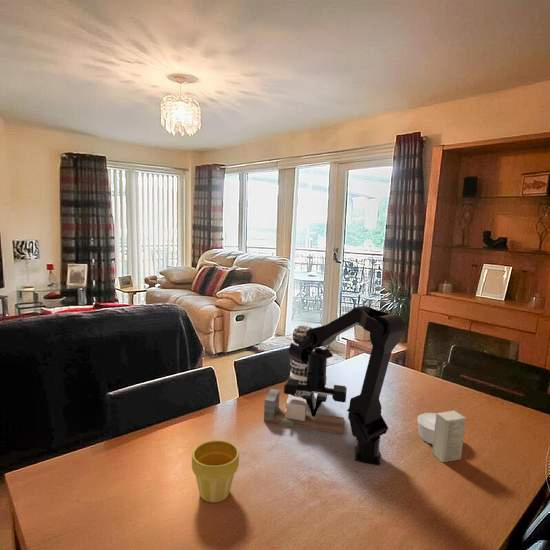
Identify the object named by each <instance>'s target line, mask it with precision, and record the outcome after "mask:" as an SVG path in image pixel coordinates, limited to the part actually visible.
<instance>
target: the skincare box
mask: <svg viewBox="0 0 550 550" xmlns="http://www.w3.org/2000/svg"><path fill="white" fill-rule="evenodd" d="M466 420H467V418H466V417H465V416H464V415H462V414H461V413H459V412H457V410H454V409H453V410H447V411H439V412H436V422H435V431H434V440H433V445H432V450H431V454H432V455H433V456H434V457H436V458H437V460H439V461H440V462H441V463H449V462H452V461H453V462H454V461H458V460H461V459H462V452H463V445H464V435H465V429H466V427H465V426H466ZM448 461H449V462H448Z"/></svg>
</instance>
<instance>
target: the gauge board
mask: <svg viewBox="0 0 550 550" xmlns="http://www.w3.org/2000/svg"><path fill="white" fill-rule="evenodd" d="M280 390H281V389H275V388H270V389H269V391H268V393H267V395H266V397H265V398H264V404H263V405H264V407H263V410H264V411H263V422H266V423H273V424H278V425H280V426H285V427H289V428H290V427H291V428H295V427H298V428H303V429H309V430H314V431H315V430H316V431H321V432H322V431H323V432H329V433H334V434H340V435H343V432H344V421H345V420H344V419H345V417H343V416H337V415H330V414H324V413H318V412H317V413H316V415H315V417H313V416H312V414H311V411H310V412H309V411H307V414H306V418H305V421H300V420H294V419H288V418H285V414H284V411H285V408H286V407H285V408H284V407H280V392H281V391H280Z"/></svg>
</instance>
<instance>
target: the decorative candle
mask: <svg viewBox="0 0 550 550" xmlns="http://www.w3.org/2000/svg"><path fill="white" fill-rule="evenodd" d="M309 329H312V327H311V326H308V325H298V326H296V327H295V328H294V329H292V330H291V331H292V339H291V342H290V344H289V346H290V345H291V344H292V343H293V342H294V338H298V337H299V338H301V339H304V337H305V336H306V332H307V331H308V330H309ZM289 358H290V359H289V365H290V368H291V369H290V373H289V374H290V375H289V376H288V379H296V380H299V384H303V385H306V382H307V377H304V372H305V367H307V365H308V362H307V363H303V362H301V361H298V360H296V359H294V358H292V357H290V356H289ZM287 395H288V396H287V397H289V396H294V397H301V398H302V396H303V391H298V390H297V391H296V393H295V394H294V395H289V394H287Z"/></svg>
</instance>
